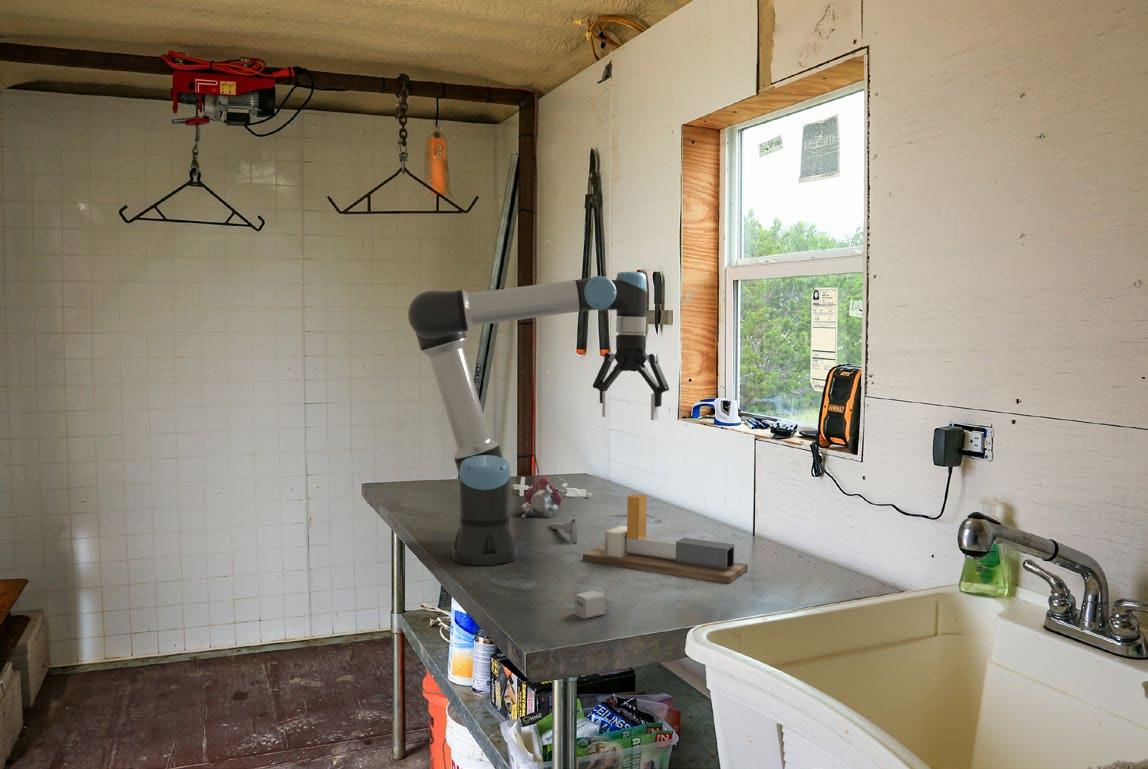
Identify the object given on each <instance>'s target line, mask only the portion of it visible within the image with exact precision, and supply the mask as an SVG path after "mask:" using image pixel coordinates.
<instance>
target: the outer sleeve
mask: <svg viewBox="0 0 1148 769" xmlns="http://www.w3.org/2000/svg"><path fill="white" fill-rule="evenodd" d="M676 541H677V542H676V564H680V565H686V566H693V567H699V568H706V569H713V570H719V571H728V570H729V569H731V568H732V567H734V562H735V544H734V543H727V542H720V541H713V540H705V539H698V538H688V537H683V538H681V539H679V540H676Z"/></svg>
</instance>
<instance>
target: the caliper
mask: <svg viewBox="0 0 1148 769" xmlns="http://www.w3.org/2000/svg"><path fill="white" fill-rule="evenodd" d="M549 527H550V528H551V529H554V530H561V531H562V530H563V531H564V533H565V534H568V536H569V541H570V543H572V544H577V540H578V531H577V530H578V529H577V523H576V518H570V519H569V522H564V523H559V522H558V523H557V522H551V523H550V524H549Z"/></svg>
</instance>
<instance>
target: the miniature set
mask: <svg viewBox="0 0 1148 769" xmlns="http://www.w3.org/2000/svg"><path fill="white" fill-rule="evenodd" d="M525 482H526V477H524V476H521V477H520V483H519V484H516V483H514V484H512V485H511V484H510V486H512V487H513V491H514V490H518V491H519V494H518V496H519V495H520V497H525V494H524V493H525V491H524V490H529V489H530V488H531V487H532V486H533V485H534V484H533V485H531V486H529V485H526V483H525ZM561 486H562V488H564V489H565V490H566V494H564V496H566V497H573V498H575V497H586V496H592V495H593V493H591V492H587V489H585V488H575V487H568V483H566V482H564V483H562V484H561ZM555 490H556V491H557V492H558V491H559V492H564V490H560V489H559V488H557V487H556V488H555ZM552 491H553V490H552ZM559 492H558V493H559Z"/></svg>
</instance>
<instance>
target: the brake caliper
mask: <svg viewBox="0 0 1148 769" xmlns="http://www.w3.org/2000/svg"><path fill="white" fill-rule="evenodd" d="M530 487H531V488H528V491H526V493H525V494H524V501H525V503H523V504H522V505H521V509H522V510H523V511H524V512H525V513H524V514H522V515H521V517H522V518H525V517H544V518H545V517H546V518H552V517H554V516H555V515H556V513H557V512H558V510H560V508H561V506H562V504H561V503H562V501H563V500H562V496H561V495H560V493H559V492H557V491H556V490H555V489H556V488H555V487H554V486H553V484H552V483H551V482H550V481H549V480H548V479H547V477H545V476H542V477H540V478H539V479H538V480H537V481H536V482H535V483H534V484H533V486H532V485H531V486H530ZM552 490H553V491H552ZM551 496H552V497H551Z"/></svg>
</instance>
